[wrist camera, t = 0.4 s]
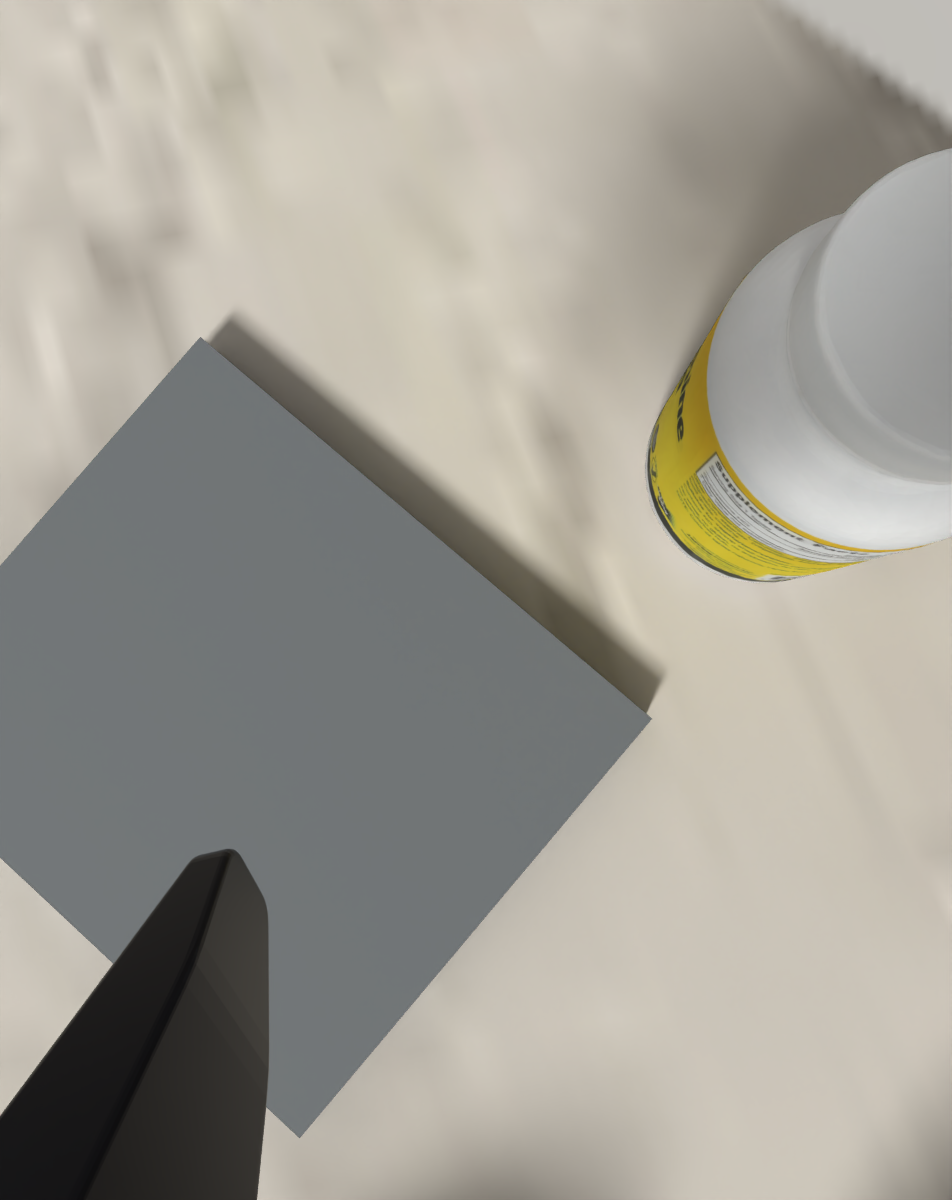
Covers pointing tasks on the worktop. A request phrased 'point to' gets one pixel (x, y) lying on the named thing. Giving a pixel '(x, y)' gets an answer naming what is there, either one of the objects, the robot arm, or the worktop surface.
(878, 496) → the pill bottle
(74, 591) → the mat
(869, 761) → the worktop surface
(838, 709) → the worktop surface
